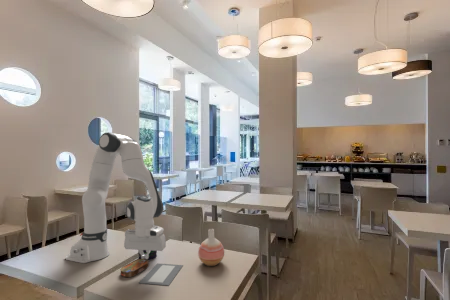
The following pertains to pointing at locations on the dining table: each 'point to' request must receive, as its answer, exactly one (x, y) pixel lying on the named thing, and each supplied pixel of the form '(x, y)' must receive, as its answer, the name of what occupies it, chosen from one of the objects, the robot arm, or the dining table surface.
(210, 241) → the vase
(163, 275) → the mat
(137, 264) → the tin
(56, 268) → the dining table surface
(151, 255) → the blue oil drum
